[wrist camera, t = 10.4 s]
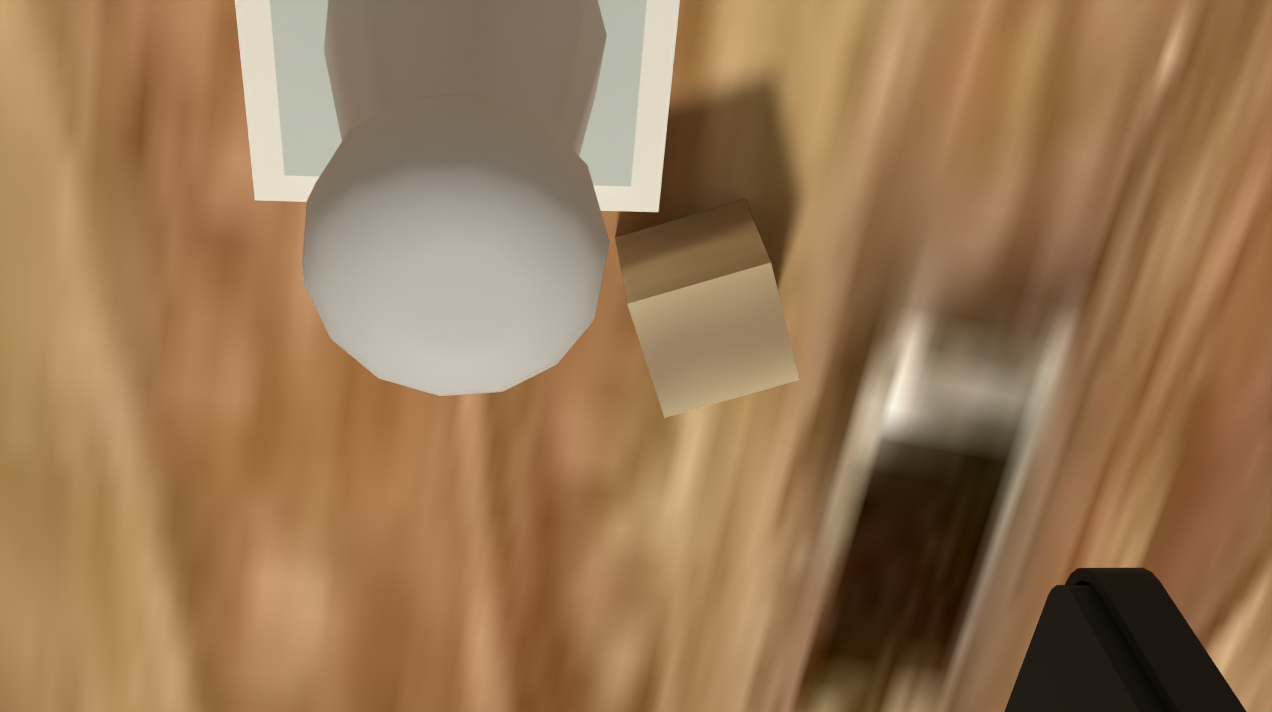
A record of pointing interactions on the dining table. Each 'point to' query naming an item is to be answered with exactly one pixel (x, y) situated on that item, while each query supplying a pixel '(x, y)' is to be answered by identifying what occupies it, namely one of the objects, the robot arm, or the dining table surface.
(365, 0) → the salt shaker
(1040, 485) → the dining table surface
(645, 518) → the dining table surface
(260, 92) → the base block
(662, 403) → the tan block
